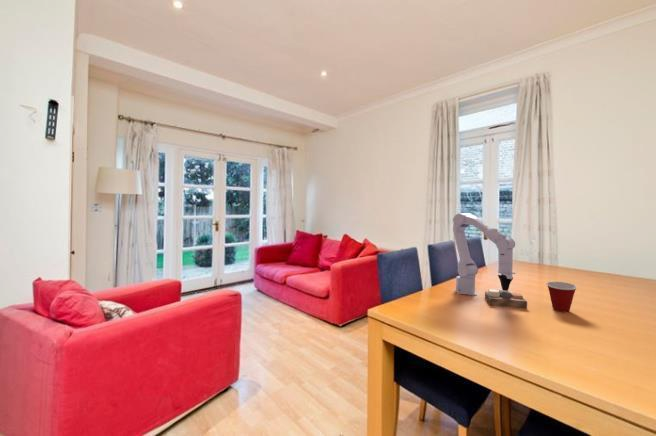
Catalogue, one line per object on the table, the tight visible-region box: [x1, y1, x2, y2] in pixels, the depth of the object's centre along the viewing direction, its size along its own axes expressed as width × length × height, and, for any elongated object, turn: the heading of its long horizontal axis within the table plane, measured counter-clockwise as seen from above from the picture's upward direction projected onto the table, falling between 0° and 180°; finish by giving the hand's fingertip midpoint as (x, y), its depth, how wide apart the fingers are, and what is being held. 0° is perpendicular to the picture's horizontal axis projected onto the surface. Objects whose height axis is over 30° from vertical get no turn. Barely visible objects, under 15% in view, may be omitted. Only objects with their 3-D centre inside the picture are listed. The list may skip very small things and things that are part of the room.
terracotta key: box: [510, 292, 524, 299], centre depth 133 cm, size 4×4×3 cm
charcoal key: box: [498, 289, 512, 298], centre depth 134 cm, size 4×4×3 cm
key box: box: [484, 291, 528, 310], centre depth 134 cm, size 15×11×4 cm
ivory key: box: [487, 289, 500, 297], centre depth 136 cm, size 4×4×3 cm
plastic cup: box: [546, 281, 578, 313], centre depth 125 cm, size 11×11×12 cm
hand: (505, 290), depth 134 cm, fingers closed
